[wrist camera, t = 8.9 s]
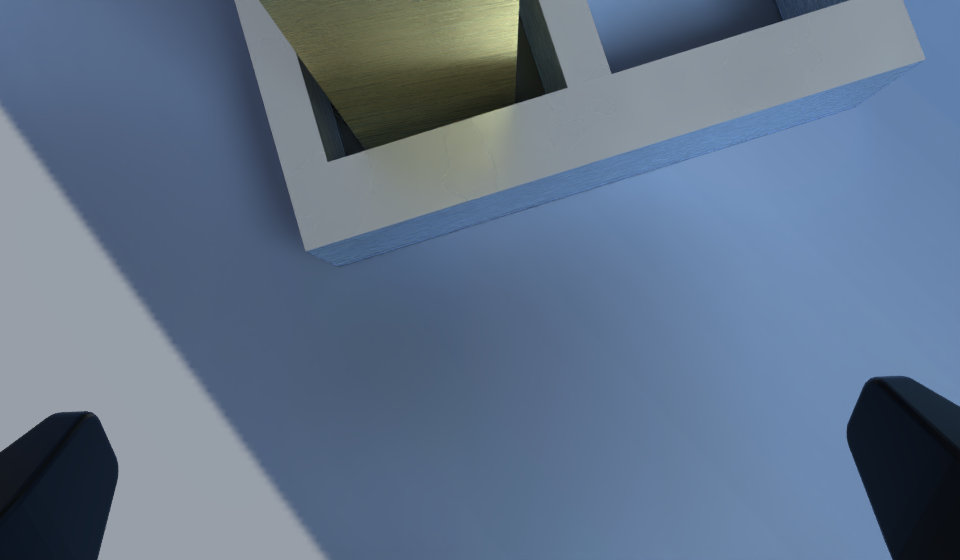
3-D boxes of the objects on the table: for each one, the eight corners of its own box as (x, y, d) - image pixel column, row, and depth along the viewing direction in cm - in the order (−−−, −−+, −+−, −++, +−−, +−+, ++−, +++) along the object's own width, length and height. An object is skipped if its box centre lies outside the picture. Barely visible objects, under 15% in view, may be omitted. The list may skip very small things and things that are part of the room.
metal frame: (855, 106, 18) (925, 59, 15) (338, 266, 18) (305, 251, 15) (740, -201, 19) (784, -303, 16) (248, -47, 19) (200, -121, 16)
